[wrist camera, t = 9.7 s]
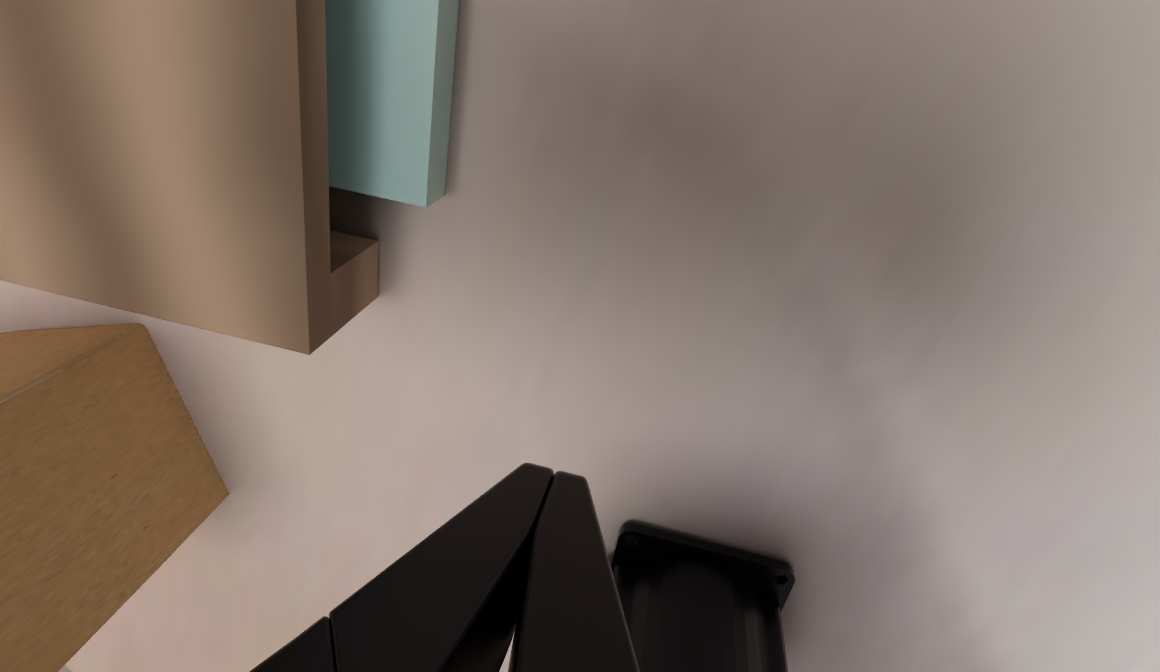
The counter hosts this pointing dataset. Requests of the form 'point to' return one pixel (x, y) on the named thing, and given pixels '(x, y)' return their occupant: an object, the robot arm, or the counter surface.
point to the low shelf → (177, 165)
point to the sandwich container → (88, 483)
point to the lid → (390, 96)
